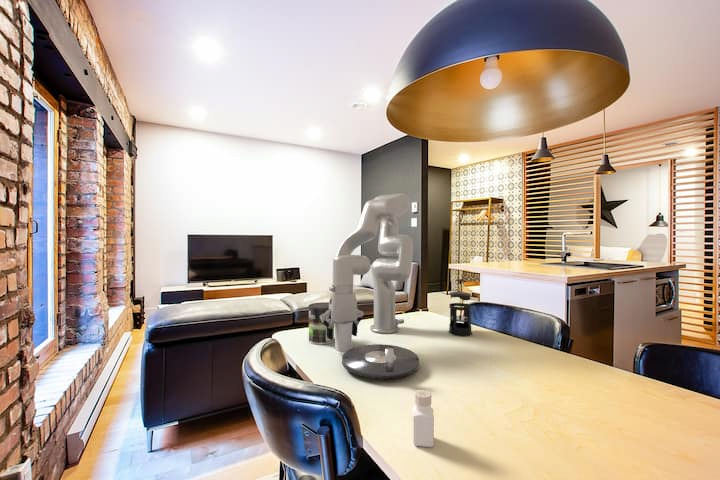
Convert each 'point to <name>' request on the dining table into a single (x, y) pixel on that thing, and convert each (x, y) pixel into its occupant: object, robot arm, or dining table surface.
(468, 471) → the dining table surface
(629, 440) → the dining table surface
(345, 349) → the drinking glass
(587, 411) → the dining table surface
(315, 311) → the coffee can
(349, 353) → the turntable
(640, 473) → the dining table surface
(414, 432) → the white pill bottle
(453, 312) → the french press
